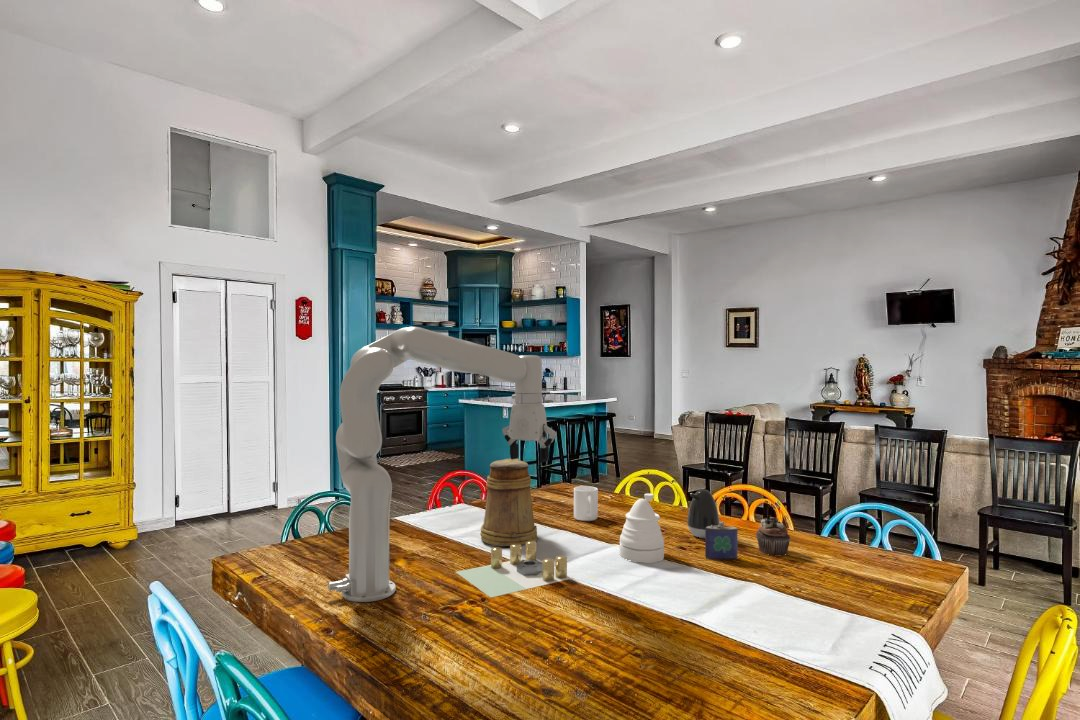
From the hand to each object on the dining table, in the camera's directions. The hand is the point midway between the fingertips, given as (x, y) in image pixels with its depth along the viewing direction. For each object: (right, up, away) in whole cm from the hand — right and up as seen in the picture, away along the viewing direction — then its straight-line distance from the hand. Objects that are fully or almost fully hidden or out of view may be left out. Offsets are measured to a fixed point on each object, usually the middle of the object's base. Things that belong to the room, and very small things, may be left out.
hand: (528, 460), depth 170 cm
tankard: (-7, -29, +25) cm, 39 cm away
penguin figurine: (+56, -29, +27) cm, 69 cm away
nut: (0, -28, -9) cm, 29 cm away
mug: (+20, -29, +47) cm, 58 cm away
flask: (+56, -30, +5) cm, 63 cm away
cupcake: (+73, -30, +12) cm, 80 cm away
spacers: (0, -28, -9) cm, 30 cm away
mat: (-4, -29, -11) cm, 31 cm away
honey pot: (+33, -29, +7) cm, 45 cm away
